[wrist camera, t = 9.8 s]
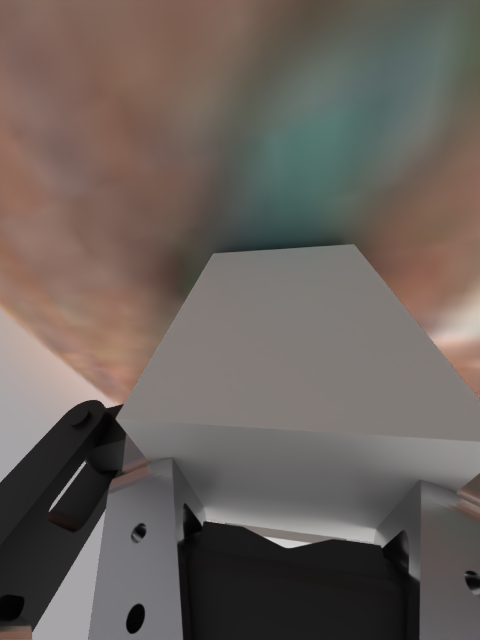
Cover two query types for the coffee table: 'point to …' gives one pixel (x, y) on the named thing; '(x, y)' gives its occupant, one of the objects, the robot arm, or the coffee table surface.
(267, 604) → the robot arm
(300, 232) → the coffee table surface
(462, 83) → the coffee table surface
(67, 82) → the coffee table surface
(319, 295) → the left white block
